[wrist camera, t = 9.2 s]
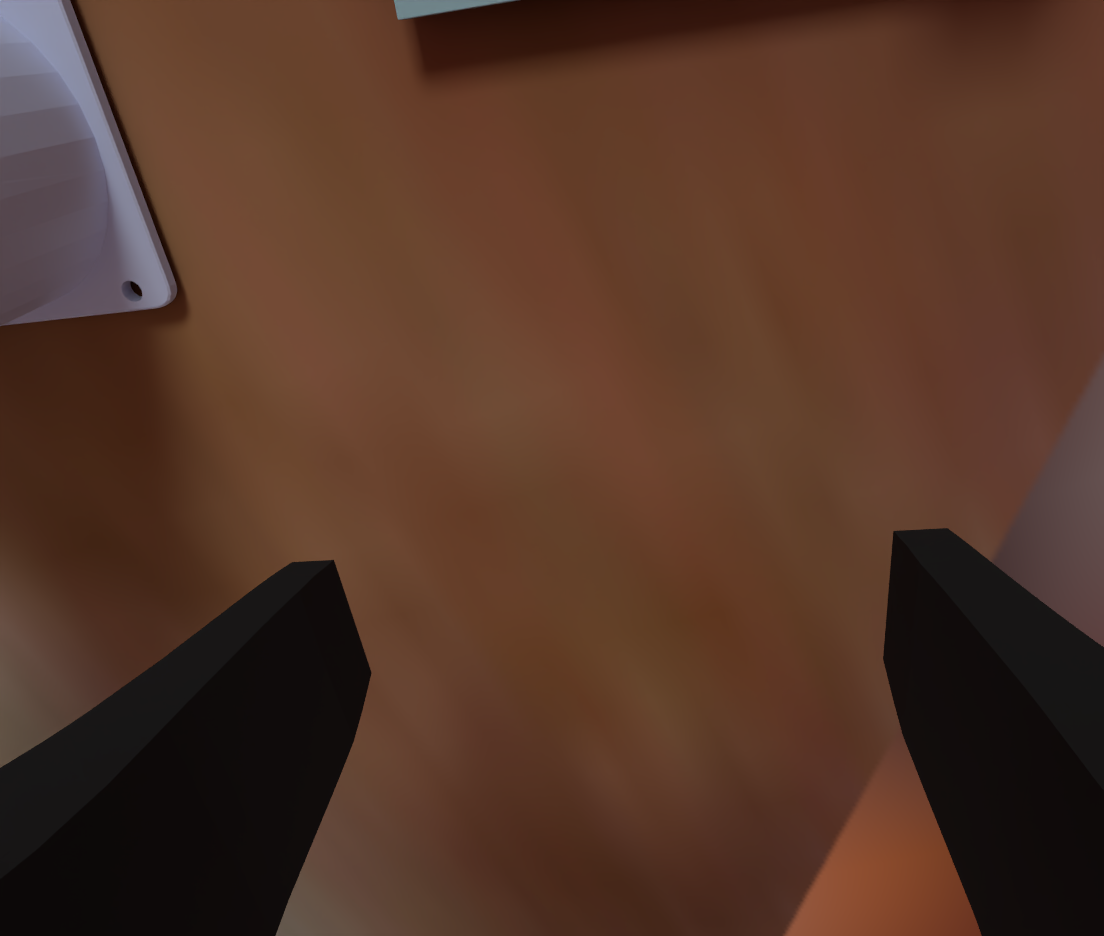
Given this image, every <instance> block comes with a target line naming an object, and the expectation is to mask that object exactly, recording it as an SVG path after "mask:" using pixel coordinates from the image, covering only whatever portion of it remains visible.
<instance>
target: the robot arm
mask: <svg viewBox="0 0 1104 936" xmlns="http://www.w3.org/2000/svg"><path fill="white" fill-rule="evenodd" d="M131 281H133V282H135V283H136V284H137V285H139V287H140V288H141V290H142V296H139V295H137V294H136V293H134V291H133V290H132V288H131V283H130V282H131ZM176 294H177V286H176V282H175V279H174V277H173V274H172V271H171V269H170V266H169V263H168V261H167V258H166V255H165V253H164V250H163V247H162V245H161V242H160V239H159V236H158V234H157V231H156V228H155V226H154V223H153V220H152V218H151V215H150V212H149V210H148V207H147V204H146V202H145V199H144V196H143V194H142V191H141V188H140V186H139V183H138V180H137V178H136V175H135V172H134V170H133V167H132V164H131V162H130V159H129V156H128V154H127V151H126V148H125V146H124V143H123V140H122V138H121V135H120V132H119V130H118V127H117V124H116V122H115V119H114V116H113V114H112V111H111V108H110V106H109V103H108V100H107V98H106V95H105V92H104V90H103V87H102V84H101V81H100V79H99V76H98V73H97V71H96V68H95V65H94V63H93V60H92V57H91V55H90V52H89V49H88V47H87V44H86V41H85V39H84V36H83V33H82V31H81V28H80V25H79V23H78V20H77V17H76V15H75V12H74V9H73V7H72V4H71V1H70V0H0V326H3V325H12V324H21V323H30V322H39V321H48V320H57V319H66V318H75V317H84V316H93V315H102V314H111V313H120V312H129V311H138V310H147V309H156V308H161V307H164V306H166V305H168V304H169V303H171V302H172V301H173V300H174V299H175V298H176ZM883 660H884V664H885V668H886V672H887V676H888V680H889V684H890V688H891V692H892V696H893V700H894V704H895V708H896V712H897V715H898V719H899V723H900V726H901V730H902V734H903V737H904V739H905V742H906V744H907V747H908V750H909V752H910V754H911V757H912V760H913V762H914V765H915V767H916V770H917V772H918V775H919V778H920V780H921V783H922V785H923V788H924V790H925V792H926V795H927V798H928V800H929V803H930V805H931V808H932V810H933V813H934V815H935V818H936V820H937V823H938V825H939V828H940V830H941V833H942V835H943V838H944V840H945V843H946V845H947V847H948V850H949V852H950V855H951V858H952V860H953V863H954V865H955V868H956V870H957V872H958V875H959V877H960V880H961V882H962V885H963V888H964V890H965V893H966V895H967V897H968V900H969V902H970V905H971V907H972V910H973V913H974V915H975V918H976V920H977V923H978V926H979V929H980V932H981V935H982V936H1104V647H1103V646H1101V645H1100V644H1098V643H1097V642H1095V641H1094V640H1093V639H1091V638H1090V637H1089V636H1087V635H1086V634H1084V633H1083V632H1082V631H1080V630H1079V629H1077V628H1076V627H1075V626H1073V625H1072V624H1071V623H1069V622H1068V621H1067V620H1065V619H1064V618H1063V617H1061V616H1060V615H1059V614H1057V613H1056V612H1055V611H1053V610H1052V609H1051V608H1049V607H1048V606H1047V605H1045V604H1044V603H1043V602H1041V601H1040V600H1039V599H1038V598H1036V597H1035V596H1034V595H1032V594H1031V593H1030V592H1028V591H1027V590H1026V589H1025V588H1023V587H1022V586H1021V585H1020V584H1018V583H1017V582H1016V581H1014V580H1013V579H1012V578H1011V577H1009V576H1008V575H1007V574H1005V573H1004V572H1003V571H1002V570H1000V569H999V568H998V567H997V566H995V565H994V564H993V563H992V562H990V561H989V560H988V559H987V558H985V557H984V556H983V555H981V554H980V553H979V552H978V551H976V550H975V549H974V548H973V547H971V546H970V545H969V544H968V543H966V542H965V541H964V540H962V539H961V538H960V537H958V536H957V535H956V534H954V533H953V532H952V531H950V530H949V529H948V528H943V529H924V530H905V531H893V544H892V556H891V568H890V581H889V593H888V606H887V618H886V631H885V643H884V656H883ZM370 677H371V670H370V667H369V664H368V661H367V658H366V655H365V652H364V649H363V646H362V643H361V640H360V637H359V634H358V631H357V628H356V625H355V622H354V619H353V616H352V613H351V610H350V607H349V604H348V601H347V598H346V595H345V592H344V589H343V586H342V583H341V580H340V577H339V574H338V571H337V568H336V565H335V562H334V560H326V561H307V562H292V563H290V564H289V565H287V566H286V567H284V568H283V569H281V570H279V571H278V572H277V573H275V574H274V575H272V576H271V577H269V578H268V579H267V580H265V581H264V582H263V583H261V584H260V585H258V586H257V587H256V588H254V589H253V590H252V591H250V592H249V593H248V594H246V595H245V596H244V597H243V598H241V599H240V600H239V601H237V602H236V603H235V604H233V605H232V606H231V607H230V608H228V609H227V610H226V611H224V612H223V613H222V614H220V615H219V616H218V617H217V618H215V619H214V620H213V621H211V622H210V623H209V624H207V625H206V626H205V627H203V628H202V629H201V630H200V631H198V632H197V633H196V634H194V635H193V636H192V637H190V638H189V639H188V640H186V641H185V642H184V643H183V644H181V645H180V646H179V647H177V648H176V649H175V650H173V651H172V652H171V653H169V654H168V655H167V656H165V657H164V658H163V659H161V660H160V661H159V662H157V663H156V664H155V665H153V666H152V667H150V668H149V669H148V670H146V671H145V672H143V673H142V674H141V675H139V676H138V677H136V678H135V679H134V680H132V681H131V682H129V683H128V684H127V685H125V686H124V687H122V688H121V689H120V690H118V691H117V692H115V693H114V694H113V695H111V696H110V697H108V698H107V699H106V700H104V701H103V702H101V703H100V704H99V705H97V706H96V707H94V708H93V709H92V710H90V711H89V712H87V713H86V714H84V715H83V716H81V717H80V718H78V719H77V720H76V721H74V722H73V723H71V724H70V725H68V726H67V727H65V728H63V729H62V730H60V731H59V732H57V733H56V734H54V735H53V736H51V737H50V738H48V739H47V740H45V741H43V742H42V743H40V744H39V745H37V746H35V747H34V748H32V749H31V750H29V751H27V752H26V753H24V754H22V755H21V756H19V757H17V758H16V759H14V760H13V761H11V762H9V763H8V764H6V765H4V766H3V767H1V768H0V936H275V935H276V932H277V930H278V927H279V924H280V922H281V919H282V916H283V914H284V911H285V908H286V905H287V903H288V900H289V898H290V895H291V893H292V890H293V888H294V886H295V883H296V881H297V878H298V876H299V874H300V871H301V869H302V866H303V864H304V862H305V859H306V857H307V854H308V852H309V849H310V847H311V845H312V842H313V840H314V837H315V835H316V833H317V830H318V828H319V825H320V823H321V821H322V818H323V816H324V813H325V811H326V809H327V806H328V804H329V801H330V799H331V797H332V794H333V792H334V789H335V787H336V784H337V782H338V779H339V777H340V774H341V772H342V769H343V767H344V764H345V762H346V760H347V757H348V754H349V752H350V749H351V747H352V744H353V742H354V738H355V735H356V731H357V727H358V724H359V720H360V717H361V713H362V710H363V705H364V701H365V697H366V693H367V689H368V685H369V681H370Z"/></svg>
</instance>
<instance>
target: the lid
mask: <svg viewBox="0 0 1104 936" xmlns="http://www.w3.org/2000/svg"><path fill="white" fill-rule="evenodd" d="M513 1H519V0H394V2H395V7H396V12H397V17H398V20H402V19H412V18H417V17H423V16H429V15H435V14H441V13H447V12H453V11H459V10H465V9H471V8H477V7H483V6H489V5H495V4H501V3H507V2H513Z"/></svg>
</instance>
